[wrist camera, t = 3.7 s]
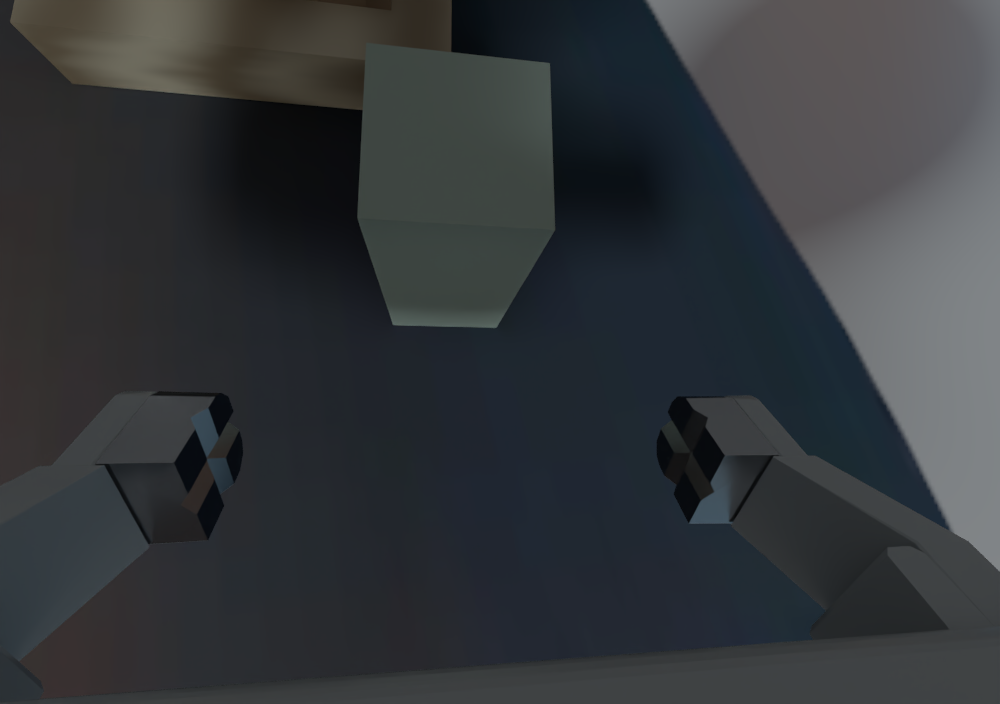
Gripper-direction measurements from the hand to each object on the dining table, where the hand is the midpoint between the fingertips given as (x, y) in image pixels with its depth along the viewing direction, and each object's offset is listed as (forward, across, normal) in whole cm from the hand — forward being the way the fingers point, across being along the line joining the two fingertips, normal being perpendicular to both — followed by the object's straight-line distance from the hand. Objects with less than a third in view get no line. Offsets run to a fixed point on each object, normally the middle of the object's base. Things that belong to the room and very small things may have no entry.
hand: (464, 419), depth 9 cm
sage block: (+13, 0, +3) cm, 13 cm away
